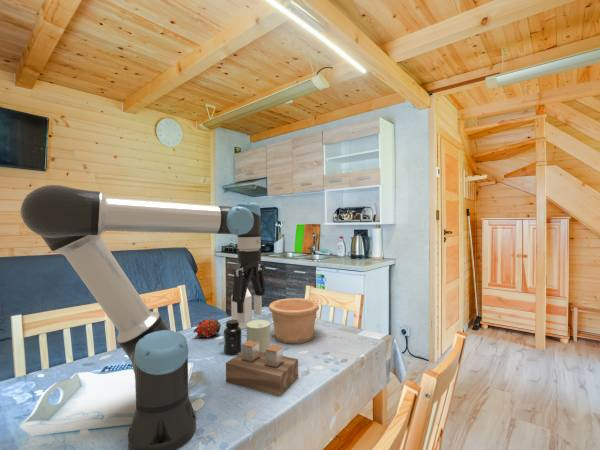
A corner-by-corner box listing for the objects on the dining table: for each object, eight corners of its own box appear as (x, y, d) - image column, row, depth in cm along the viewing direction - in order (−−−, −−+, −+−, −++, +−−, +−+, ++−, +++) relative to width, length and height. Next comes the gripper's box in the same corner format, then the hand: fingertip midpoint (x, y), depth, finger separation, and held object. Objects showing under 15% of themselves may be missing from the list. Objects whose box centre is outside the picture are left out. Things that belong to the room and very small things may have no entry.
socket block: (280, 396, 91) (280, 376, 91) (225, 381, 100) (225, 362, 100) (298, 377, 102) (298, 359, 102) (247, 365, 111) (247, 348, 111)
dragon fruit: (223, 338, 141) (196, 346, 135) (218, 322, 146) (192, 330, 141) (223, 326, 135) (195, 335, 130) (218, 311, 141) (191, 319, 136)
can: (252, 360, 114) (251, 328, 114) (242, 351, 122) (242, 321, 122) (274, 354, 119) (274, 323, 119) (264, 346, 127) (263, 317, 127)
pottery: (307, 325, 152) (307, 296, 151) (327, 342, 131) (327, 308, 131) (264, 331, 144) (263, 300, 144) (277, 350, 123) (277, 314, 123)
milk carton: (231, 326, 151) (231, 287, 151) (244, 323, 156) (243, 285, 155) (239, 330, 146) (238, 289, 145) (252, 326, 151) (251, 287, 150)
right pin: (276, 369, 96) (276, 351, 96) (265, 366, 98) (265, 349, 98) (282, 363, 100) (282, 346, 100) (272, 361, 102) (272, 344, 102)
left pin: (252, 363, 100) (252, 346, 100) (242, 361, 102) (242, 344, 102) (259, 358, 104) (259, 342, 104) (249, 356, 106) (249, 340, 105)
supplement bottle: (221, 355, 119) (221, 324, 119) (226, 348, 126) (226, 318, 126) (239, 355, 119) (239, 324, 118) (243, 348, 126) (243, 318, 125)
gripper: (239, 253, 91) (240, 330, 91) (275, 247, 110) (276, 311, 110) (218, 252, 94) (220, 327, 95) (257, 246, 113) (258, 308, 114)
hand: (250, 318), depth 103 cm, fingers open, 8 cm apart
